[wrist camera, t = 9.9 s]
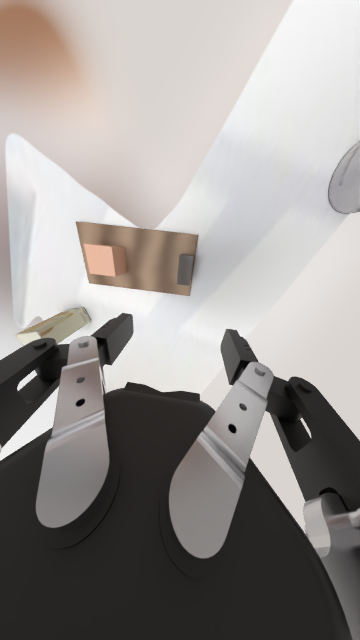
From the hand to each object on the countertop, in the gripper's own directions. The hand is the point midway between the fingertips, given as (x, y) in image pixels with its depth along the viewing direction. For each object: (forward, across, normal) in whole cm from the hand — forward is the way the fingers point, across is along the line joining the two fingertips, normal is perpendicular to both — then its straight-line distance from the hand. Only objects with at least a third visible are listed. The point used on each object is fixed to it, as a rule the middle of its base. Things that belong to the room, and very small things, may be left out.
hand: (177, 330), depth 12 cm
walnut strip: (+21, +11, -2) cm, 24 cm away
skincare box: (+22, +29, +14) cm, 39 cm away
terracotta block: (+20, +16, -2) cm, 26 cm away
